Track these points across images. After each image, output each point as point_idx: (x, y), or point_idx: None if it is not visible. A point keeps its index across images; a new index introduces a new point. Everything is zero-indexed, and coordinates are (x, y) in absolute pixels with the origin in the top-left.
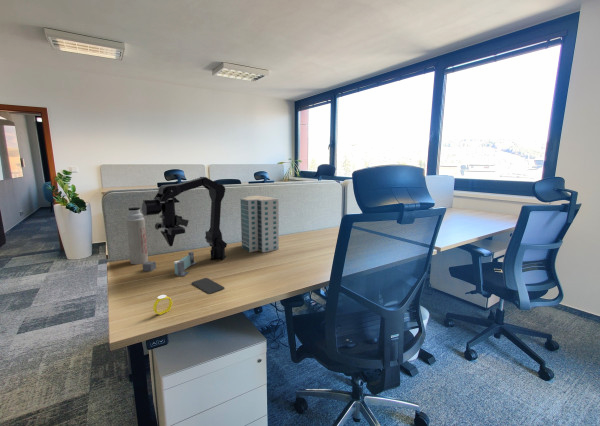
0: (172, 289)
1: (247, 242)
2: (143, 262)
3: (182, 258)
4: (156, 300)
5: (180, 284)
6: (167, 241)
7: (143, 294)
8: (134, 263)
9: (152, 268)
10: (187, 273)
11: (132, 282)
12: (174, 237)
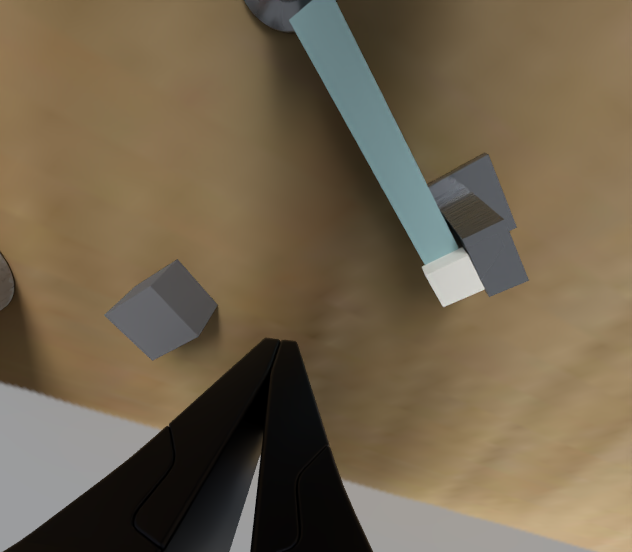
0: (605, 368)
1: None
2: (2, 264)
3: (363, 150)
4: None
5: (601, 310)
6: (253, 474)
7: (501, 449)
8: (2, 308)
9: (201, 300)
10: (494, 174)
11: None
12: (353, 510)
